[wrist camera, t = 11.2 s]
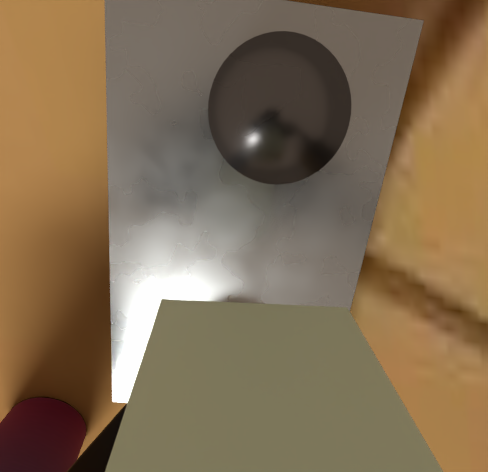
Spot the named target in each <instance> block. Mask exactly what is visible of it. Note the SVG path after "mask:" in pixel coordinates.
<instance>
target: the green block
mask: <svg viewBox="0 0 488 472" xmlns="http://www.w3.org/2000/svg"><path fill="white" fill-rule="evenodd" d="M105 472H443V470H442V469H441V467H440V465H439V464H438V462H437V460H436V458H435V457H434V455H433V453H432V452H431V450H430V448H429V446H428V445H427V443H426V441H425V440H424V438H423V436H422V435H421V433H420V431H419V429H418V428H417V426H416V424H415V423H414V421H413V419H412V417H411V416H410V414H409V412H408V411H407V409H406V407H405V405H404V404H403V402H402V400H401V399H400V397H399V395H398V393H397V392H396V390H395V388H394V387H393V385H392V383H391V382H390V380H389V378H388V376H387V375H386V373H385V371H384V370H383V368H382V366H381V364H380V363H379V361H378V359H377V358H376V356H375V354H374V352H373V351H372V349H371V347H370V346H369V344H368V342H367V340H366V339H365V337H364V335H363V334H362V332H361V330H360V328H359V327H358V325H357V323H356V322H355V320H354V318H353V317H352V315H351V313H350V311H349V310H348V308H347V307H327V306H305V305H282V304H260V303H238V302H215V301H193V300H171V299H161V302H160V305H159V308H158V311H157V315H156V318H155V321H154V324H153V327H152V330H151V333H150V336H149V339H148V342H147V345H146V348H145V351H144V354H143V357H142V360H141V363H140V366H139V369H138V372H137V376H136V379H135V382H134V385H133V388H132V391H131V394H130V397H129V400H128V403H127V406H126V409H125V412H124V415H123V418H122V421H121V424H120V427H119V430H118V433H117V437H116V440H115V443H114V446H113V449H112V452H111V455H110V458H109V461H108V464H107V467H106V470H105Z"/></svg>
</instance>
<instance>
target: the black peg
mask: <svg viewBox="0 0 488 472" xmlns="http://www.w3.org/2000/svg"><path fill="white" fill-rule="evenodd" d="M351 105H352V104H351V93H350V88H349V83H348V80H347V77H346V75H345V73H344V70H343V68H342V66H341V65H340V63H339V62H338V60H337V59H336V57H335V56H334V55H333V54H332V53H331V52H330V51H329V50H328V49H327V48H326V47H325V46H324V45H322V44H321V43H319V42H318V41H316V40H315V39H313V38H311V37H308V36H306V35H304V34H300V33H296V32H289V31H274V32H269V33H264V34H261V35H258V36H255V37H253V38H251V39H249V40H247V41H246V42H244V43H243V44H241V45H240V46H239V47H237V48H236V49H235V50H234V51H233V52H232V53H231V54H230V55H229V56H228V57H227V58H226V60H225V61H224V62H223V64H222V65H221V67H220V68H219V70H218V72H217V74H216V76H215V78H214V81H213V84H212V87H211V90H210V95H209V101H208V120H209V126H210V131H211V134H212V137H213V140H214V142H215V144H216V146H217V148H218V150H219V152H220V153H221V155H222V156H223V158H224V159H225V160H226V161H227V162H228V163H229V165H231V166H232V167H233V168H234V169H235V170H236V171H238V172H239V173H241V174H242V175H244V176H246V177H248V178H250V179H252V180H255V181H257V182H261V183H266V184H276V185H278V184H288V183H294V182H297V181H300V180H303V179H305V178H307V177H309V176H311V175H313V174H314V173H316V172H318V171H319V170H320V169H321V168H323V167H324V166H325V165H326V164H327V163H328V162H329V161H330V160H331V159H332V158H333V156H334V155H335V154H336V152H337V151H338V149H339V148H340V146H341V144H342V143H343V140H344V138H345V136H346V133H347V130H348V127H349V123H350V117H351Z"/></svg>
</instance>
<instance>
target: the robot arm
mask: <svg viewBox="0 0 488 472" xmlns="http://www.w3.org/2000/svg"><path fill="white" fill-rule="evenodd" d="M127 403H128V402H127ZM126 406H127V404H126V405H125V406H124V407H123V408H122V409H121V410H120V412H119V413H118V414H117V415H116V416H115V417H114V418H113V419H112V421H111V422H110V423H109V424H108V425H107V426H106V427H105V429H104V430H103V431H102V432H101V433H100V434H99V435H98V437H97V438H96V439H95V440H94V441H93V442H92V443H91V444H90V446H89V447H88V448H87V449H86V450H85V451H84V452H83V454H82V455H81V456H80V457H79V458H78V459H77V460H76V462H75V463H74V464H73V465H72V466H71V467H70V468H69V469H68V471H67V472H105V470H106V467H107V464H108V461H109V458H110V455H111V452H112V449H113V446H114V443H115V440H116V437H117V433H118V430H119V427H120V424H121V421H122V418H123V415H124V412H125V409H126Z"/></svg>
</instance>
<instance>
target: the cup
mask: <svg viewBox="0 0 488 472" xmlns="http://www.w3.org/2000/svg"><path fill="white" fill-rule="evenodd" d="M85 436H86V425H85V422H84V420H83V418H82V416H81V415H80V414H79V413H78V412H77V411H76V410H75V409H74V408H73V407H71V406H70V405H68V404H66V403H64V402H62V401H59V400H56V399H52V398H43V397H37V398H30V399H27V400H24V401H22V402H20V403H18V404H17V405H16V406H14V407H13V408H12V409H11V411H10V412H9V413H8V414H7V416H6V417H5V418H4V419H3V420H2V422H1V423H0V472H67V471H68V469H69V468H70V467H71V466H72V465H73V464H74V463H75V462H76V460H77V458H78V455H79V452H80V449H81V447H82V444H83V441H84V439H85Z"/></svg>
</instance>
